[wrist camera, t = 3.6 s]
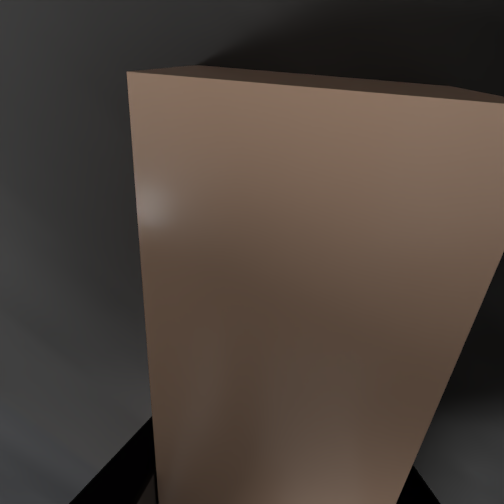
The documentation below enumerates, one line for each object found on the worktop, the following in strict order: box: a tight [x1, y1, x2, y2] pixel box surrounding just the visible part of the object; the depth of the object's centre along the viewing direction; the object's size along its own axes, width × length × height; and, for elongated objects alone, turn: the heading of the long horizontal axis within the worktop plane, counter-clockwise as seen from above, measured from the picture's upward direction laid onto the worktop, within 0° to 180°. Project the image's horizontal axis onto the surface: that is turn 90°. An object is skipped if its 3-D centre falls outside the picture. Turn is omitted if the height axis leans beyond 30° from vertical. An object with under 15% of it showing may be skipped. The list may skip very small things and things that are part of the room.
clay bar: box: [127, 65, 504, 504], centre depth 8 cm, size 4×14×3 cm, turn 176°
